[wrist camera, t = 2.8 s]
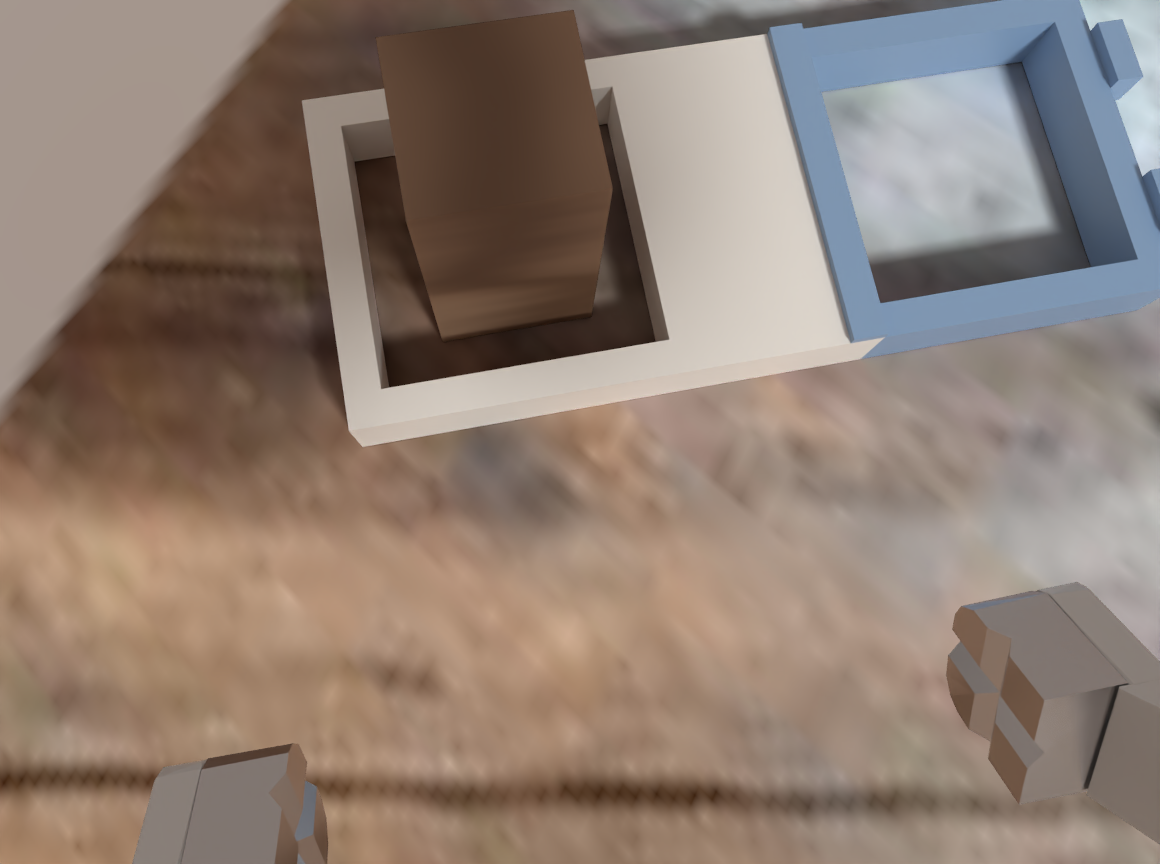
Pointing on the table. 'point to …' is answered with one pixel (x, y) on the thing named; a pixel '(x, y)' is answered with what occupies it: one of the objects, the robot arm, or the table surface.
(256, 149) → the table surface
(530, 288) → the walnut block
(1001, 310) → the two-window frame tray
